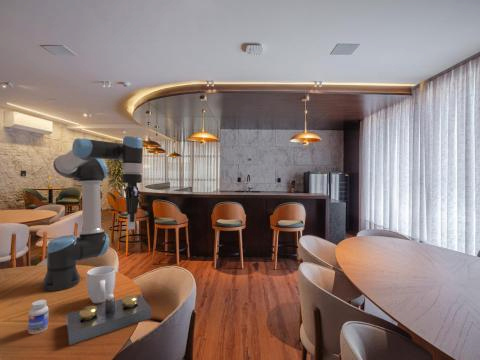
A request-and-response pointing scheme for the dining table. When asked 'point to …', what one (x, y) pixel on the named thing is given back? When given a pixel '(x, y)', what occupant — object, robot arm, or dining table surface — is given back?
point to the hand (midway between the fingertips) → (131, 229)
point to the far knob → (129, 301)
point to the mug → (100, 283)
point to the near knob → (88, 313)
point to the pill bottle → (38, 317)
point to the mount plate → (106, 320)
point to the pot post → (110, 303)
